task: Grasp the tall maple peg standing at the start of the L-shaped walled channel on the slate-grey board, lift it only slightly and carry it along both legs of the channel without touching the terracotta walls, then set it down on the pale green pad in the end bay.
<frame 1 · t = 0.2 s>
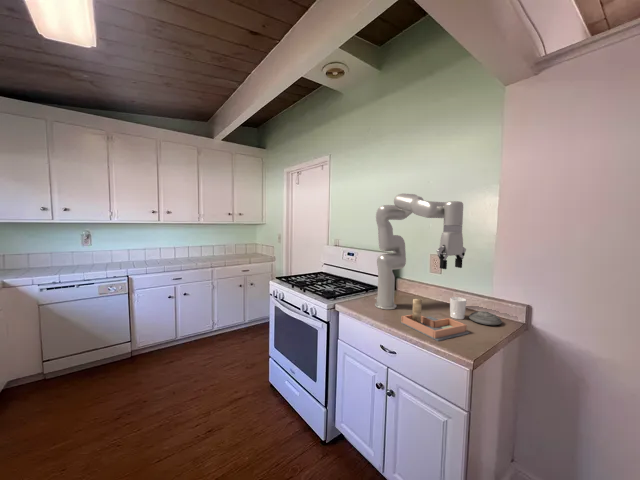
hand: (450, 268, 124), 30 cm above the counter, fingers open, 9 cm apart
white cup: (457, 317, 150), on the counter
peg: (416, 324, 137), point 1 cm above the counter, touching track
track: (433, 328, 134), on the counter
flying saucer: (484, 322, 144), on the counter
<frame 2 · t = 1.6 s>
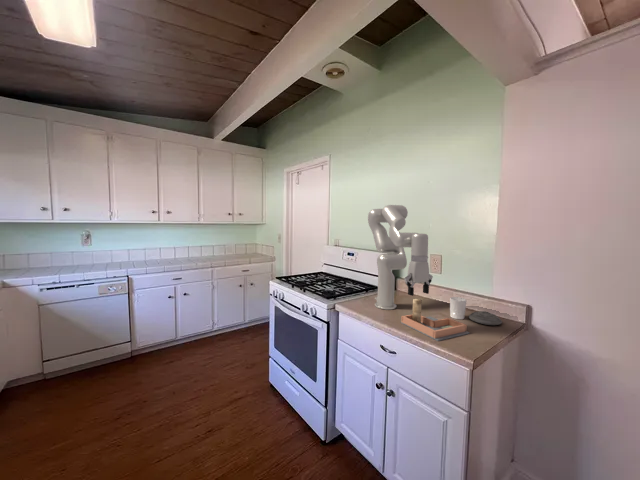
hand: (418, 294, 136), 16 cm above the counter, fingers open, 9 cm apart
nothing on the counter moved.
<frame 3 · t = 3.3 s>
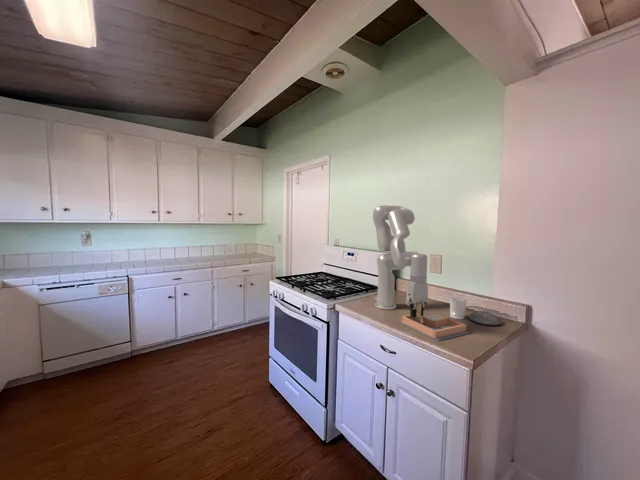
hand: (416, 315, 137), 5 cm above the counter, fingers closed on peg, 4 cm apart
peg: (416, 324, 137), point 1 cm above the counter, touching gripper, track
everything else where it was.
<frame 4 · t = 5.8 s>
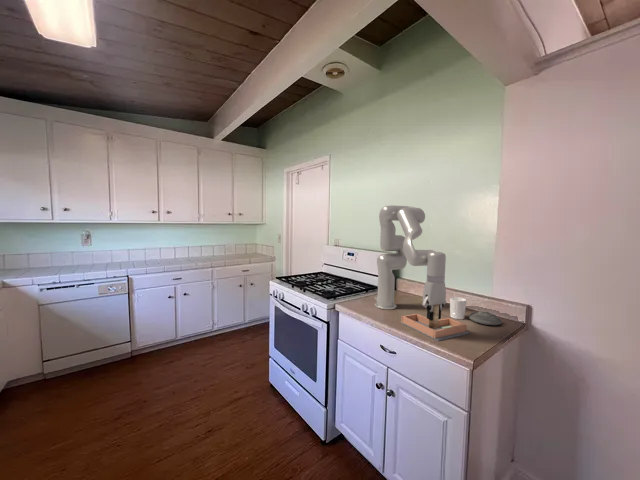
hand: (433, 318, 128), 7 cm above the counter, fingers closed on peg, 4 cm apart
peg: (433, 327, 128), point 3 cm above the counter, touching gripper
everything else where it was.
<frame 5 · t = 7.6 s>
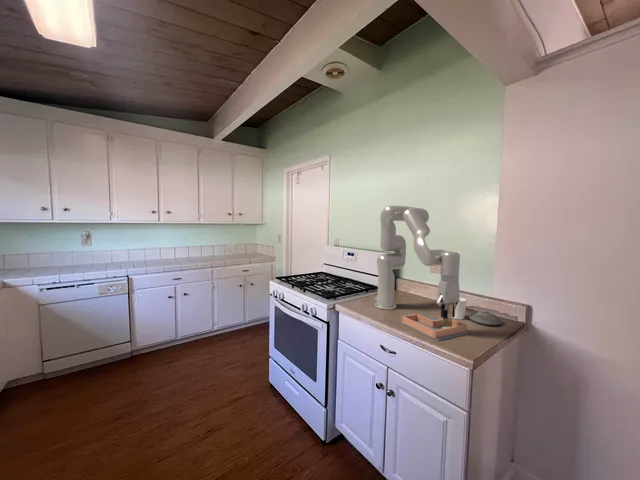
hand: (447, 316, 131), 7 cm above the counter, fingers closed on peg, 4 cm apart
peg: (447, 325, 131), point 3 cm above the counter, touching gripper
everything else where it was.
when the fingers open (6 cm above the counter, at t = 8.8 s): peg stays where it is, resting on track.
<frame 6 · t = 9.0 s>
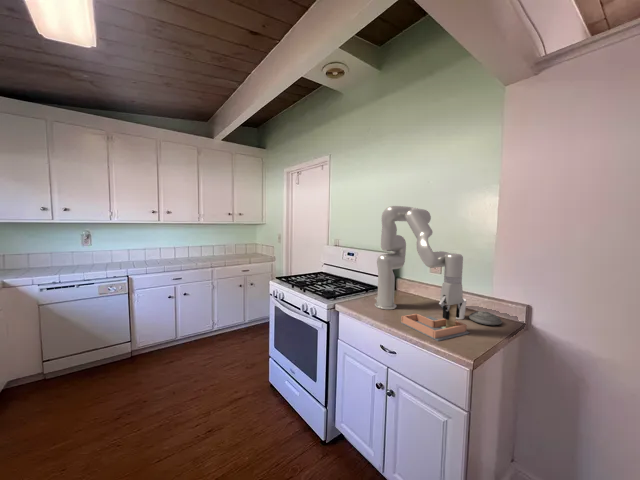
hand: (450, 317, 132), 6 cm above the counter, fingers open, 6 cm apart
peg: (450, 328, 132), point 1 cm above the counter, touching track
everything else where it was.
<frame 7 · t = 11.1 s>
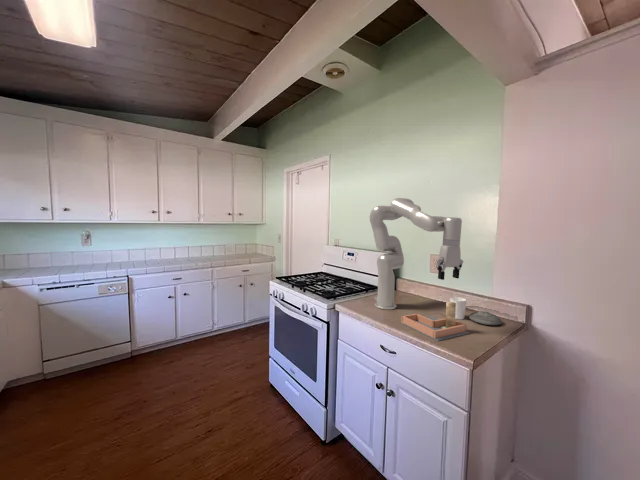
hand: (448, 278, 135), 24 cm above the counter, fingers open, 9 cm apart
nothing on the counter moved.
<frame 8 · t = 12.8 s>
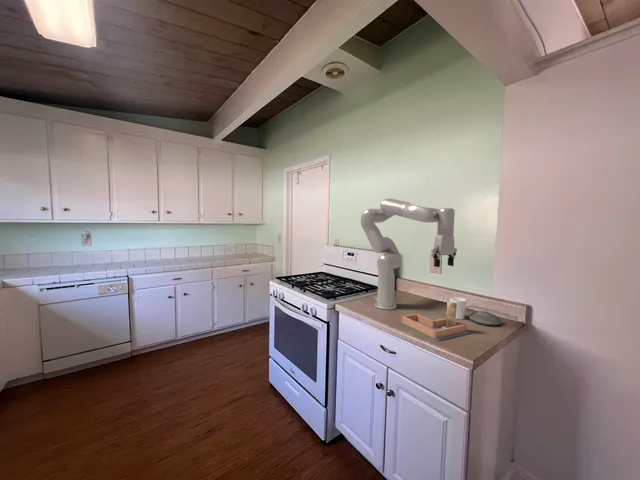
hand: (443, 266, 143), 28 cm above the counter, fingers open, 9 cm apart
nothing on the counter moved.
at the end: peg 0.1 cm from the target spot on the track, point 0.8 cm above the track's base; peg tilted 1°; the gripper is holding nothing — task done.
